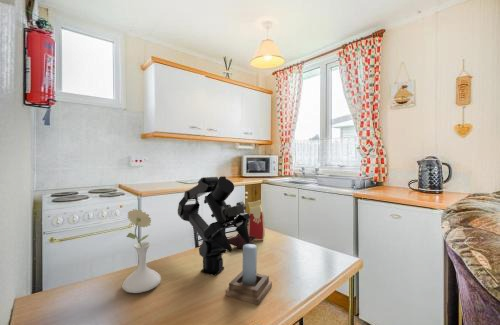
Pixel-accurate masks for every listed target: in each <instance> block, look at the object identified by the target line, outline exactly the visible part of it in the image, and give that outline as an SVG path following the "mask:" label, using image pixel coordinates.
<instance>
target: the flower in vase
mask: <svg viewBox="0 0 500 325" xmlns="http://www.w3.org/2000/svg"><path fill="white" fill-rule="evenodd" d="M149 216H150V214H148V213H147V212H145V211H143V210H142V209H139V210H138V209H137V208H134V209H132V210H129V211H128V212H127V218H128V219H129V221H130V222H131V223H132V224H133V225H134V226H135V228H134V233H132V232H128V234H127V235H126V238H130V239H132V240H135V239H136V240H137V241H138V242H137V243H134V244H133V248H134V249H135V251H136V253H137V259H138V261H137V262H138V265H137V267H136V269H135V270H134V271H133V272H132V273H131V274H129V275H128V276H127V277H126V278H125V279H124V280H123V283H122V285H121V286H122V289H123V290H124V291H125V292H126V293H130V294H140V293H145V292H149V291H150V290H152V289H154V288H156V287H157V286H158V285H160V282H161V281H162V276H161V274H160V273H158V272H157V271H156V270H154V269H152V268H150V267H149V266H148V265H147V253H148V249H149V247H150V246H151V242H150V241H144V240H145V239H147V238H148V237H149V234H147V235H144V236H142V237H141V238H140V239H139V238H138V236H137V233H136V232H137V229H138V228H137V227H139V228H145V227H150V226H151V223H152V222H151V221H152V220H151V219H152V218H151V217H149Z"/></svg>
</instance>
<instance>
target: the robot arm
mask: <svg viewBox="0 0 500 325" xmlns="http://www.w3.org/2000/svg"><path fill="white" fill-rule="evenodd" d="M218 177H219V176H206V177H201V178H199V180H198V181H197V185H195V186H193V187H192V188H190V189H188V190H186V191H184V194H183V196H182V198H181V199H180V201H179V202H178V205H177V206H178V207H177V215H178V217H179V218H180V219H182V220H183V221H184V222H185V221H186V222H189V223H190V225H191V227H192V228H193V229H194V230H195V232H196V233H197V234H198V235H199V237H200V238H201V240H202V241H201V245H200V246H199V248H198V253H199V256H201V257H202V269H201V270H200V273H202V274H206V275H210V276H216V275H218V274H219V273H220V272H222V271H223V270H224V269H225V266H224V258H223V254H226V252H227V251H228V252H229V253H232V252H233V247H232V245H231V244H230V243H229V241H228V236H227V235H226V229H227V228H229V227H235V230H236V232H237V234H238V233H239V234H240V236H241V237H242V238H243V239H244V240H245V241H246V242H247V243H249V242H251V241H250V239H249V234H248V226H249V219H250V218H251V217H250V213H248V212H245V211H246V209H247V205H246V204H245V202H243V201H239V202H236V204H235V206H234V205H233V206H232V205H231V204H227V203H226V200H227V199H228V198H229V197H230V196H231V194H232V193H233V191H234V190H235V184H234V183H233V182H232V180H230V179H228V178H226V177H227V176H225V175H223V176H220V177H219V178H218ZM207 193H208V194H207ZM205 194H207V195H205ZM203 195H205V196H204V199H203V203H204V204H207V205H208V207H209V209H210V211H211V215H210V216H211V218H215V220H216V221H214V222H211V223H210V224H208V222H206V221H205V220H204V218H203V217H202V216H201V215H200V214H199V210H200V202H199V200H198V199H199V197H201V196H203ZM189 200H190V201H191V200H195V203H188V202H189Z"/></svg>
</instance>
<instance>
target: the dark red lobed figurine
mask: <svg viewBox="0 0 500 325" xmlns="http://www.w3.org/2000/svg"><path fill="white" fill-rule="evenodd" d="M227 239H228V241H229V243H230V245H231V246H234V247H236V248H237V249H238V250H239V249H243V246H244V245H246V244H254V242H252V241H255V240H254V239H255V236H254V235H251V236H249V239H250V242H249V243H247V242H246V241H245V240H244V239H243V238H242V237H241V236H240V234H239V233H238V232H237V234H236V235H235V236H232V237H229V238H228V237H227ZM254 245H255V244H254Z"/></svg>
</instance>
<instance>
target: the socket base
mask: <svg viewBox="0 0 500 325" xmlns="http://www.w3.org/2000/svg"><path fill="white" fill-rule="evenodd" d="M242 277H243V270H241V271H240V272H239V273H238V274H237V275H235V277H234V278H233V279H232V280H231V281H230V282H229V283H228V287H227V289H225V292H224V293H225V296H226V297H230V298H233V299H237V300H240V301H242V302H243V301H244V302H248V303H251V304H254V305H257V306H260V304H261V303H262V301H263V299H264V298H265V297H266V295H267V294H268V292H269V291H270V290H271V288H272V287H273V284H272V283H273V282H272V281H270V279H269V278H270V276H269V275H266V274H261V273H258V272H256V286H255V287H253V286H249V285H245V284H242Z"/></svg>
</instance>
